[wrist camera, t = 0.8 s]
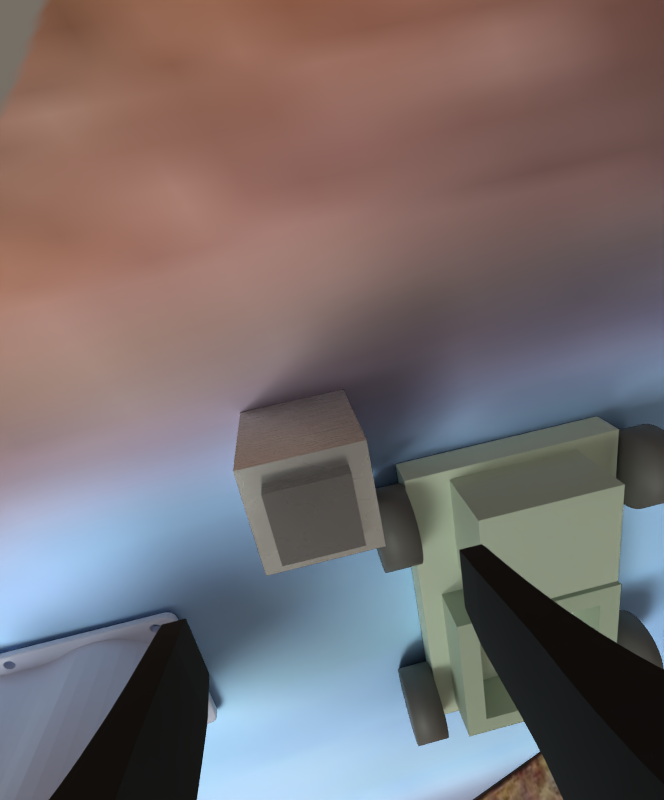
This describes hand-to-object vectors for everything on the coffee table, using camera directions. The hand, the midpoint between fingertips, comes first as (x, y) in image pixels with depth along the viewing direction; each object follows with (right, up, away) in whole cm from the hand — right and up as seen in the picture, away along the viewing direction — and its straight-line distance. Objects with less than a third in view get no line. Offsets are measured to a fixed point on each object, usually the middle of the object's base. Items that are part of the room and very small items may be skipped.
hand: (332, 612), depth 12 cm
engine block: (-1, +3, +9) cm, 10 cm away
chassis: (+9, -4, +13) cm, 16 cm away
